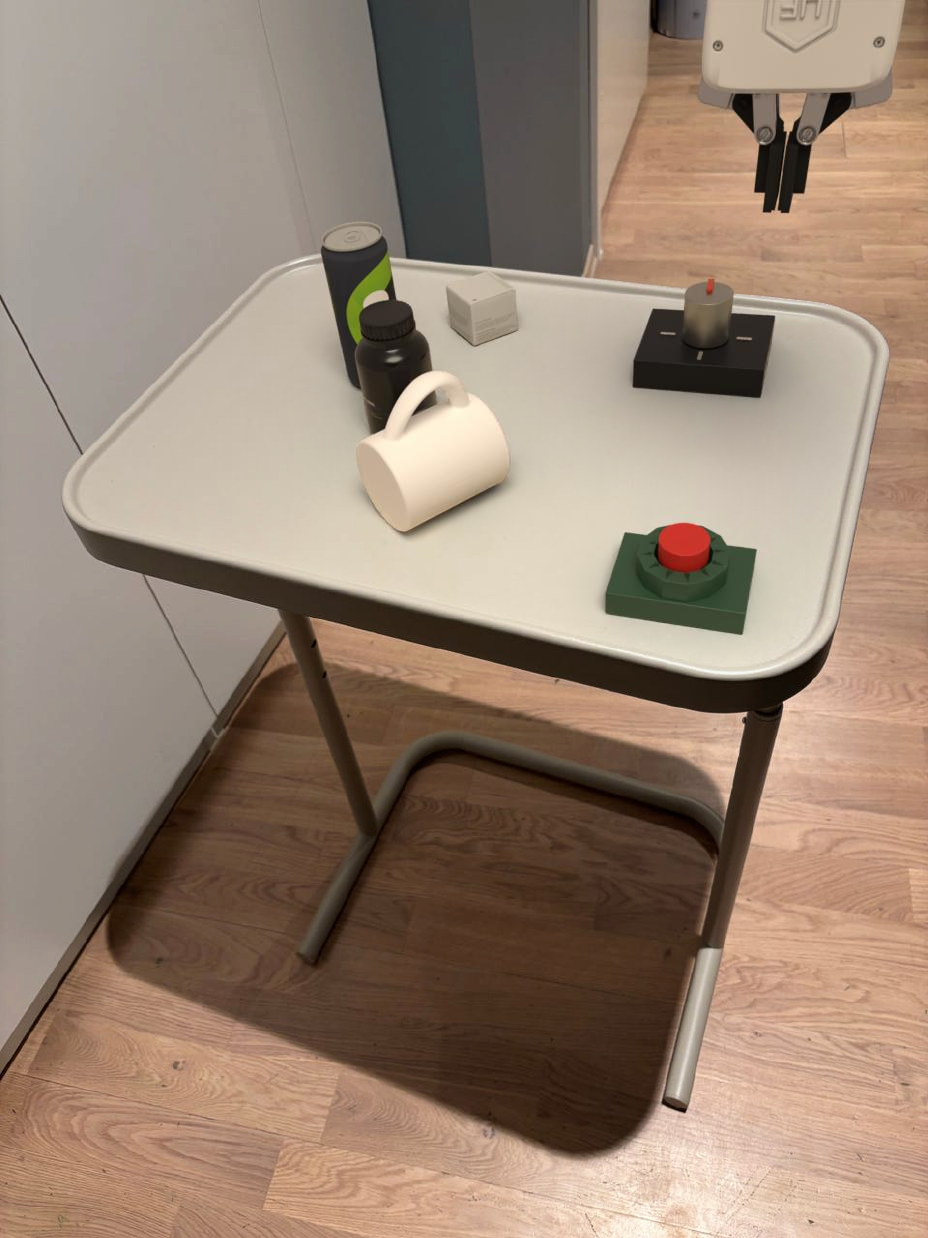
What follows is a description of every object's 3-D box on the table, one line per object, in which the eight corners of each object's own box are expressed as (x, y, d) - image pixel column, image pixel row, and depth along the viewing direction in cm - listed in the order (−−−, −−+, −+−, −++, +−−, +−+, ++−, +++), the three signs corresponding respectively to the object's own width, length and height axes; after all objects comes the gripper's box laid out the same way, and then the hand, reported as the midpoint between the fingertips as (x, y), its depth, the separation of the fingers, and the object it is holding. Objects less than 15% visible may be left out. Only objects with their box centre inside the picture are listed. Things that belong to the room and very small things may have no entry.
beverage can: (350, 365, 100) (319, 224, 89) (408, 357, 99) (384, 216, 89) (348, 397, 95) (316, 253, 85) (409, 389, 95) (384, 244, 84)
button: (711, 543, 69) (713, 525, 68) (704, 576, 67) (706, 558, 66) (662, 537, 70) (663, 519, 69) (653, 569, 68) (654, 551, 67)
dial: (727, 349, 88) (732, 301, 85) (679, 347, 89) (682, 300, 86) (730, 325, 91) (735, 278, 88) (684, 324, 92) (687, 277, 89)
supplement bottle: (356, 439, 90) (330, 324, 81) (393, 401, 94) (371, 288, 85) (418, 454, 87) (398, 336, 79) (453, 414, 91) (437, 298, 83)
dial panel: (771, 342, 94) (775, 313, 92) (760, 397, 88) (764, 368, 85) (651, 334, 97) (652, 306, 95) (632, 387, 91) (633, 358, 89)
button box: (753, 569, 72) (759, 530, 69) (742, 635, 68) (748, 595, 65) (624, 552, 75) (624, 513, 72) (605, 613, 70) (605, 575, 68)
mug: (365, 503, 83) (337, 384, 74) (460, 455, 86) (445, 336, 78) (415, 549, 78) (391, 428, 69) (514, 496, 81) (504, 375, 73)
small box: (520, 330, 101) (517, 287, 97) (473, 347, 99) (468, 304, 96) (493, 310, 105) (490, 267, 101) (448, 326, 103) (443, 284, 100)
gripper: (659, -149, 46) (647, 226, 59) (1001, -178, 41) (905, 234, 54) (684, -175, 50) (668, 177, 63) (993, -203, 46) (907, 181, 59)
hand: (778, 203), depth 59 cm, fingers closed
